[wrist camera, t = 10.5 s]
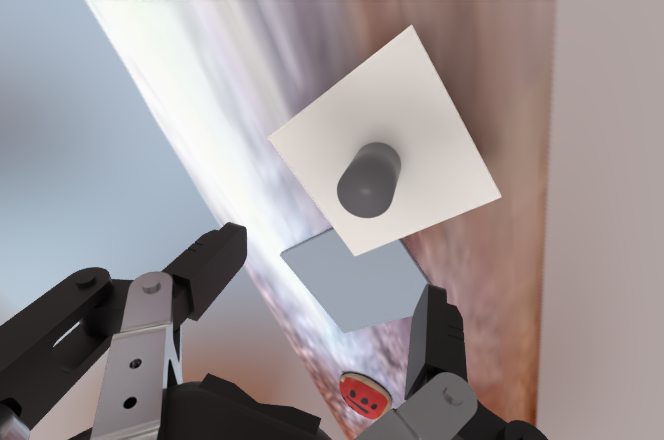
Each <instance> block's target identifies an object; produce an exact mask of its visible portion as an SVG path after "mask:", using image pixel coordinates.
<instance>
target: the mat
mask: <svg viewBox="0 0 664 440" xmlns="http://www.w3.org/2000/svg"><path fill="white" fill-rule="evenodd" d="M280 256H281V257H282V258H283V260H284V261H285V262H286V263H287V265H288V266H289V267H290V268H291V269H292V271H293V272H294V273H295V274H296V275H297V277H298V278H299V279H300V280H301V282H302V283H303V284H304V285H305V286H306V288H307V289H308V290H309V291H310V292H311V294H312V295H313V296H314V297H315V298H316V300H317V301H318V302H319V303H320V305H321V306H322V307H323V308H324V309H325V311H326V312H327V313H328V314H329V315H330V317H331V318H332V319H333V320H334V321H335V323H336V324H337V325H338V326H339V328H340V329H341V330H342V331H343V332H344V333H347V332H350V331H354V330H358V329H362V328H366V327H370V326H374V325H378V324H382V323H386V322H390V321H393V320H397V319H401V318H405V317H409V316H413V314H414V310H415V308H416V305H417V303H418V301H419V299H420V296H421V294H422V292H423V290H424V288H425V286H426V284H431V283H430V282H429V280H428V279H427V277H426V276H425V274H424V273H423V271H422V270H421V268H420V267H419V265H418V264H417V262H416V261H415V259H414V258H413V256H412V255H411V253H410V252H409V250H408V249H407V247H406V246H405V244H404V243H403V241H402V240H401V238H400V239H397V240H395V241H392V242H390V243H387V244H385V245H382V246H380V247H377V248H375V249H373V250H370V251H368V252H365V253H363V254H360V255H358V256H354V255H353V253H352V252H351V251H350V249H349V248H348V247H347V245H346V244H345V243H344V241H343V240H342V239H341V237H340V236H339V235H338V233H337V232H336V230H335V229H334V228H331V229H329V230H327V231H325V232H323V233H321V234H319V235H317V236H315V237H313V238H311V239H308V240H306V241H304V242H302V243H300V244H298V245H296V246H294V247H292V248H290V249H288V250H286V251H284V252H282V253H281V254H280Z"/></svg>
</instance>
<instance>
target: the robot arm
mask: <svg viewBox="0 0 664 440" xmlns="http://www.w3.org/2000/svg"><path fill="white" fill-rule="evenodd" d="M246 257H247V230H246V227H244V226H241V225H237V224H234V223H231V222H228V223H226V224H225V225H224V226H223V227H222V228H221V229H220V230H219V231H218V230H212V231H210V232H208V233H206V234H204V235H202V236H201V237H200V238H199V239H198V240H197V241H195V243H193V244H192V245H191V246H190V247H189V248H188V250H187V249H186V250H185V251H184V252H183V253H182V254H181V255H179V257H177V258H176V259H175V260H174V261H173V262H172V263H171V264H169V265H168V266H167V267H166V268H165V269H164V270H162V271H161V272H149V273H146V274H143V275H141V276H140V277H138V278H136V279H135V280H119V279H111V277H110V274H109V272H108V271H107V270H106V269H103V268H99V267H93V268H86V269H82V270H79V271H77V272H75V273H73V274H71V275H70V276H68V277H67V278H66V279H64V280H63V281H62V282H60V283H59V284H57V285H56V286H55V287H53V288H52V289H51V290H50V291H48V292H46V293H45V294H44V295H42V296H41V297H40V298H38V299H37V300H36V301H34V302H33V303H31V304H30V305H29V306H28V307H26V308H25V309H23V310H22V311H20V312H19V313H18V314H16V315H15V316H14V317H12V318H11V319H10V320H8V321H7V322H5V323H4V324H3V325H1V326H0V440H29V438H30V431H31V430H32V429H33V428H34V426H35V425H36V424H37V423H38V422H39V421H40V420H41V419H42V418H43V417H44V416H45V415H46V414H47V413H48V412H49V411H50V410H51V409H52V407H53V406H54V405H55V404H56V403H57V402H58V401H59V400H60V399H61V398H62V397H63V396H64V395H65V394H66V393H67V391H69V389H70V388H71V387H72V386H73V385H74V384H75V383H76V382H77V381H78V380H79V379H80V378H81V377H82V376H83V375H84V374H85V373H86V372H87V371H88V369H89V368H90V367H91V366H92V365H93V364H94V363H95V362H96V361H97V360H98V359H99V358H100V357H101V356H102V355H103V354H104V353H105V351H106V350H107V349H108V348H109V347H110V350H109V354H108V359H107V364H106V368H105V373H104V378H103V382H102V387H101V392H100V396H99V401H98V406H97V410H96V415H95V420H94V424H93V427H92V428H90V429H88V430H86V431H84V432H82V433H80V434H78V435H76V436H74V437H72V438H70V439H68V440H331V438H330V437H329V436H328V435H327V434H326V433H325V432H324V431H323V430H321V429H320V428H319V425H320V421H321V418H319V417H317V416H314V415H312V414H309V413H307V412H304V411H301V410H299V409H296V408H294V407H290V406H279V405H270V404H260V403H258V402H256V401H255V400H254V399H253V398H251V397H250V396H249V395H248V394H246V393H245V392H244V391H243V390H241V389H240V388H239V387H238V386H237V385H235V384H234V383H231V382H229V381H226V380H224V379H221V378H219V377H216V376H214V375H211V374H209V373H208V374H207V375H206V377H205V378H204V380H203V381H201V382H200V381H197V382H187V383H183V379H182V323H183V322H184V321H185V320H186V319H187V318H189V319H192V320H195V321H198V319H199V318H200V317H201V316H202V315H203V313H204V312H205V311H206V310H207V308H208V307H209V306H210V305H211V303H212V302H213V301H214V300H215V299H216V297H217V296H218V295H219V294H220V293H221V291H222V290H223V289H224V288H225V287H226V285H227V284H228V283H229V282H230V281H231V279H232V278H233V277H234V276H235V274H236V273H237V272H238V271H239V270H240V268H241V267H242V266H243V264H244V262H245V260H246ZM77 322H80V324H79V325H78V326H77V327H76V328H74V329H73V330H72V331H71V332H70V333H69V334H68V335H67V336H65V337H64V338H63V339H62V340H61V341H60V342H59V343H58V344H57V345H55V346H54V344H55V343H56V341H57V340H58V339H59V338H60V337H61V336H63V335H64V334H65V333H66V332H67V331H68V330H69V329H71V328H72V327H73V326H74V325H75V324H76V323H77ZM53 346H54V347H53ZM404 400H407V401H406V402H404V403H403V404H402V405H401V406H400V407H398V408H397V409H394V408H393V409H391V410H389V411H388V412H386V413H385V414H384V415H383V416H381V417H380V418H379V419H378V420H377V421H375V422H374V423H373V424H372V425H371V426H369V427H368V428H367V429H366V430H365V431H363V432H362V433H361V434H360V435H359V436H357V437H356V438H355V439H354V440H548V439H547V438H546V436H545V435H544V434H542V432H541V431H540V430H538V429H537V428H536V427H534V426H533V425H531V424H529V423H527V422H524V421H521V420H514V421H511V422H509V423H507V422H505V421H504V420H502V419H501V418H500V417H498V416H497V415H495V414H494V413H492V412H491V411H489V410H488V409H487V408H485V407H484V406H483V405H482V404H481V403H480V402H479V401H478V400H477V398H476V395H475V393H474V391H473V389H472V388H471V386H470V385H469V384H468V379H467V368H466V355H465V343H464V332H463V318H462V316H461V314H460V312H459V310H458V308H457V306H454V305H451V304H448V303H447V292H446V289H444V288H441V287H437V286H434V285H431V284H426V286H425V288H424V290H423V292H422V294H421V296H420V299H419V301H418V303H417V305H416V308H415V310H414V314H413V318H412V324H411V334H410V345H409V356H408V366H407V377H406V387H405V398H404Z"/></svg>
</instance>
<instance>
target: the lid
mask: <svg viewBox="0 0 664 440" xmlns="http://www.w3.org/2000/svg"><path fill="white" fill-rule="evenodd" d="M268 140H269V141H270V142H271V144H272V145H273V146H274V148H275V149H276V150H277V152H278V153H279V154H280V156H281V157H282V159H283V160H284V161H285V163H286V164H287V165H288V167H289V168H290V169H291V171H292V172H293V173H294V175H295V176H296V178H297V179H298V180H299V182H300V183H301V184H302V186H303V187H304V188H305V190H306V191H307V192H308V194H309V195H310V197H311V198H312V199H313V201H314V202H315V203H316V205H317V206H318V207H319V209H320V210H321V211H322V213H323V214H324V216H325V217H326V218H327V220H328V221H329V222H330V224H331V225H332V226H333V228H334V229H335V230H336V232H337V233H338V235H339V236H340V237H341V239H342V240H343V241H344V243H345V244H346V245H347V247H348V248H349V249H350V251H351V252H352V253H353V255H354V256H358V255H360V254H363V253H365V252H368V251H370V250H373V249H375V248H377V247H380V246H382V245H385V244H387V243H390V242H392V241H395V240H397V239H400V238H402V237H405V236H407V235H410V234H412V233H415V232H417V231H419V230H422V229H424V228H427V227H429V226H432V225H434V224H437V223H439V222H442V221H444V220H447V219H449V218H452V217H454V216H457V215H459V214H461V213H464V212H466V211H469V210H471V209H474V208H476V207H479V206H481V205H484V204H486V203H489V202H491V201H494V200H496V199H499V198H501V197H502V196H501V194H500V191H499V190H498V188H497V186H496V184H495V182H494V180H493V178H492V176H491V174H490V172H489V170H488V168H487V167H486V165H485V163H484V161H483V159H482V157H481V155H480V153H479V151H478V149H477V147H476V145H475V144H474V142H473V140H472V138H471V136H470V134H469V132H468V130H467V128H466V126H465V124H464V122H463V121H462V119H461V117H460V115H459V113H458V111H457V109H456V107H455V105H454V103H453V101H452V99H451V98H450V96H449V94H448V92H447V90H446V88H445V86H444V84H443V82H442V80H441V78H440V76H439V75H438V73H437V71H436V69H435V67H434V65H433V63H432V61H431V59H430V57H429V55H428V53H427V52H426V50H425V48H424V46H423V44H422V42H421V40H420V38H419V36H418V34H417V32H416V30H415V29H414V27H413V25H411V26H409V27H408V28H407V29H405V30H404V31H403V32H402V33H400V34H399V35H398V36H397V37H395V38H394V39H393V40H391V41H390V42H389V43H388V44H386V45H385V46H384V47H383V48H381V49H380V50H379V51H377V52H376V53H375V54H374V55H372V56H371V57H370V58H368V59H367V60H366V61H365V62H363V63H362V64H361V65H360V66H358V67H357V68H356V69H354V70H353V71H352V72H351V73H349V74H348V75H347V76H345V77H344V78H343V79H342V80H340V81H339V82H338V83H337V84H335V85H334V86H333V87H331V88H330V89H329V90H328V91H326V92H325V93H324V94H323V95H321V96H320V97H319V98H317V99H316V100H315V101H314V102H312V103H311V104H310V105H308V106H307V107H306V108H305V109H303V110H302V111H301V112H300V113H298V114H297V115H296V116H294V117H293V118H292V119H291V120H289V121H288V122H287V123H285V124H284V125H283V126H282V127H280V128H279V129H278V130H277V131H275V132H274V133H273V134H271V135H270V136H269V137H268Z"/></svg>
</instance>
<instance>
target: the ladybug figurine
mask: <svg viewBox="0 0 664 440" xmlns="http://www.w3.org/2000/svg"><path fill="white" fill-rule="evenodd" d="M339 385H340V391H341V394H342V397H343V399H344V400H345V402H346V403H347V404H348V406H349V407H351V408H352V409H353V410H355V411H356V412H357V413H359V414H360V415H363V416H365V417H367V418H369V419H373V420H378V419H379V418H380V417H381V416H383V415H384V414H385V413H386V412H388V411H389V410H390V409H391V406H392V401H391V398H390V396H389V394H388V393H387V392H386V391H385V390H384V389H383V388H382V387H381V386H379V385H378V384H377V383H375V382H374V381H372V380H370V379H369V378H367V377H364V376H362V375H358V374H353V373H348V374H344V375H342V376H341V378H340V382H339Z"/></svg>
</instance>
